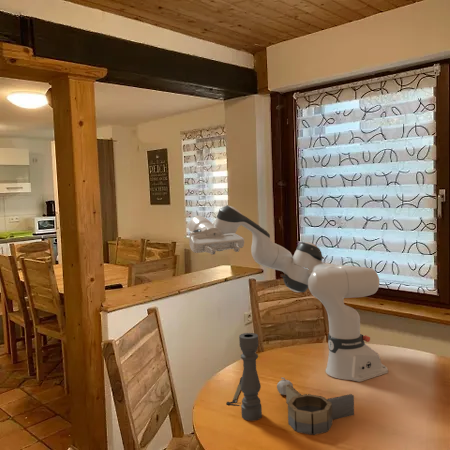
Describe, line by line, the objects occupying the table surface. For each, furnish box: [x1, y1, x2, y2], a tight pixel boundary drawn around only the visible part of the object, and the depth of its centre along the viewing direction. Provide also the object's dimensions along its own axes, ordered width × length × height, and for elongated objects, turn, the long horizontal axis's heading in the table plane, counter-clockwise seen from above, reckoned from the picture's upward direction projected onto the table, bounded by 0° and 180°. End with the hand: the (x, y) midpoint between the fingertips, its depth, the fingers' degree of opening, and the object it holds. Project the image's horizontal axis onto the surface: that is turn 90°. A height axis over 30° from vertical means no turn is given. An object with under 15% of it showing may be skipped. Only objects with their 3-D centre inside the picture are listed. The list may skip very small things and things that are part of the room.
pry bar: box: [226, 376, 242, 407], centre depth 160 cm, size 21×7×1 cm, turn 166°
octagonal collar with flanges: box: [285, 384, 355, 436], centre depth 142 cm, size 20×20×6 cm
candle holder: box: [238, 332, 263, 422], centre depth 142 cm, size 6×6×25 cm
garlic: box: [276, 377, 294, 396], centre depth 157 cm, size 6×5×5 cm
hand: (225, 251), depth 166 cm, fingers open, 8 cm apart
